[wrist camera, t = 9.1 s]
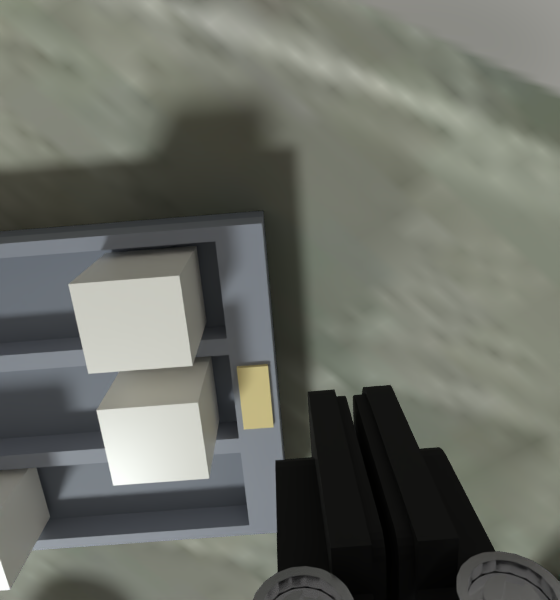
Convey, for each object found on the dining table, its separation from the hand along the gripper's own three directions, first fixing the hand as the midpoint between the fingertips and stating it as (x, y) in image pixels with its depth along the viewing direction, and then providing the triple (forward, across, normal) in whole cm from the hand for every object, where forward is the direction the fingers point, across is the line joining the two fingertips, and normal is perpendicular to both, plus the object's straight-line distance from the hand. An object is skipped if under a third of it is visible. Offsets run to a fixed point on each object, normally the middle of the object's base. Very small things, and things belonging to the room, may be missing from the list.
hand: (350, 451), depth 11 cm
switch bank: (+15, +12, +6) cm, 20 cm away
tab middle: (+13, +7, +6) cm, 16 cm away
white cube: (+13, +7, +1) cm, 15 cm away
